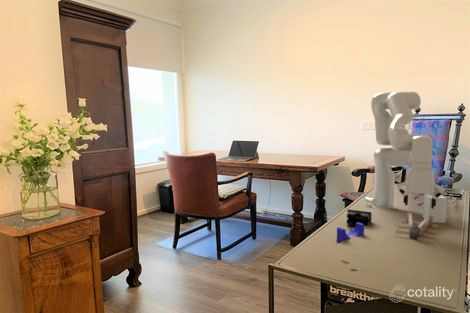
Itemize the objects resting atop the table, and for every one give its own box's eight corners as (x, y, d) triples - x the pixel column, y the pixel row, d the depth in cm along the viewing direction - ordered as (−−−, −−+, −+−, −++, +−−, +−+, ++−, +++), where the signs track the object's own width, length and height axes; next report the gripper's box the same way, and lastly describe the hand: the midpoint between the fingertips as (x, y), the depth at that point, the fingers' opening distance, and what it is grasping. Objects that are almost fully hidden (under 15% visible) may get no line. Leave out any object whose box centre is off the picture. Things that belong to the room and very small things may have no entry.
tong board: (433, 247, 127) (434, 230, 126) (393, 239, 135) (393, 224, 134) (437, 228, 147) (438, 213, 146) (402, 222, 155) (403, 208, 154)
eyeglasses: (458, 209, 174) (459, 200, 173) (417, 206, 180) (418, 197, 179) (450, 201, 188) (451, 192, 188) (413, 199, 195) (413, 190, 194)
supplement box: (445, 225, 149) (447, 198, 148) (427, 225, 151) (429, 197, 149) (439, 220, 157) (441, 194, 155) (422, 219, 158) (423, 193, 156)
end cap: (371, 224, 153) (371, 210, 152) (369, 229, 147) (369, 215, 146) (348, 221, 158) (348, 207, 157) (345, 226, 152) (345, 212, 151)
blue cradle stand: (355, 235, 142) (355, 221, 141) (363, 238, 138) (364, 224, 137) (334, 240, 136) (334, 226, 135) (342, 244, 132) (342, 229, 131)
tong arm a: (412, 234, 135) (412, 226, 134) (407, 234, 135) (407, 225, 135) (411, 220, 151) (411, 212, 151) (406, 219, 152) (407, 212, 152)
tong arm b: (421, 236, 133) (421, 228, 132) (416, 235, 134) (416, 227, 133) (432, 223, 147) (433, 216, 146) (428, 222, 148) (428, 215, 147)
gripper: (396, 165, 140) (395, 205, 142) (445, 168, 130) (443, 211, 132) (399, 163, 146) (397, 201, 148) (446, 165, 137) (444, 207, 139)
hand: (419, 206), depth 140 cm, fingers open, 9 cm apart
